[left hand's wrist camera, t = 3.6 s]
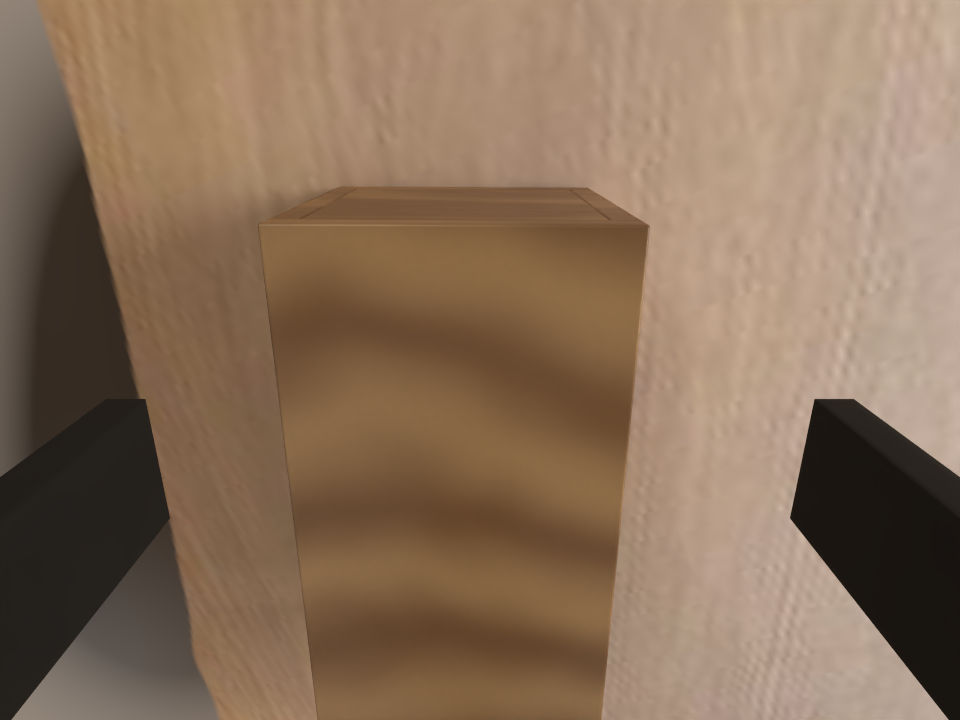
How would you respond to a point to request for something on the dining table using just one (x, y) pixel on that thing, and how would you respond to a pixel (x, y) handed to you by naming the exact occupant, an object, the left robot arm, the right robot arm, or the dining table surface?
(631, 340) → the cabinet
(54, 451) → the left robot arm
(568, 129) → the dining table surface
